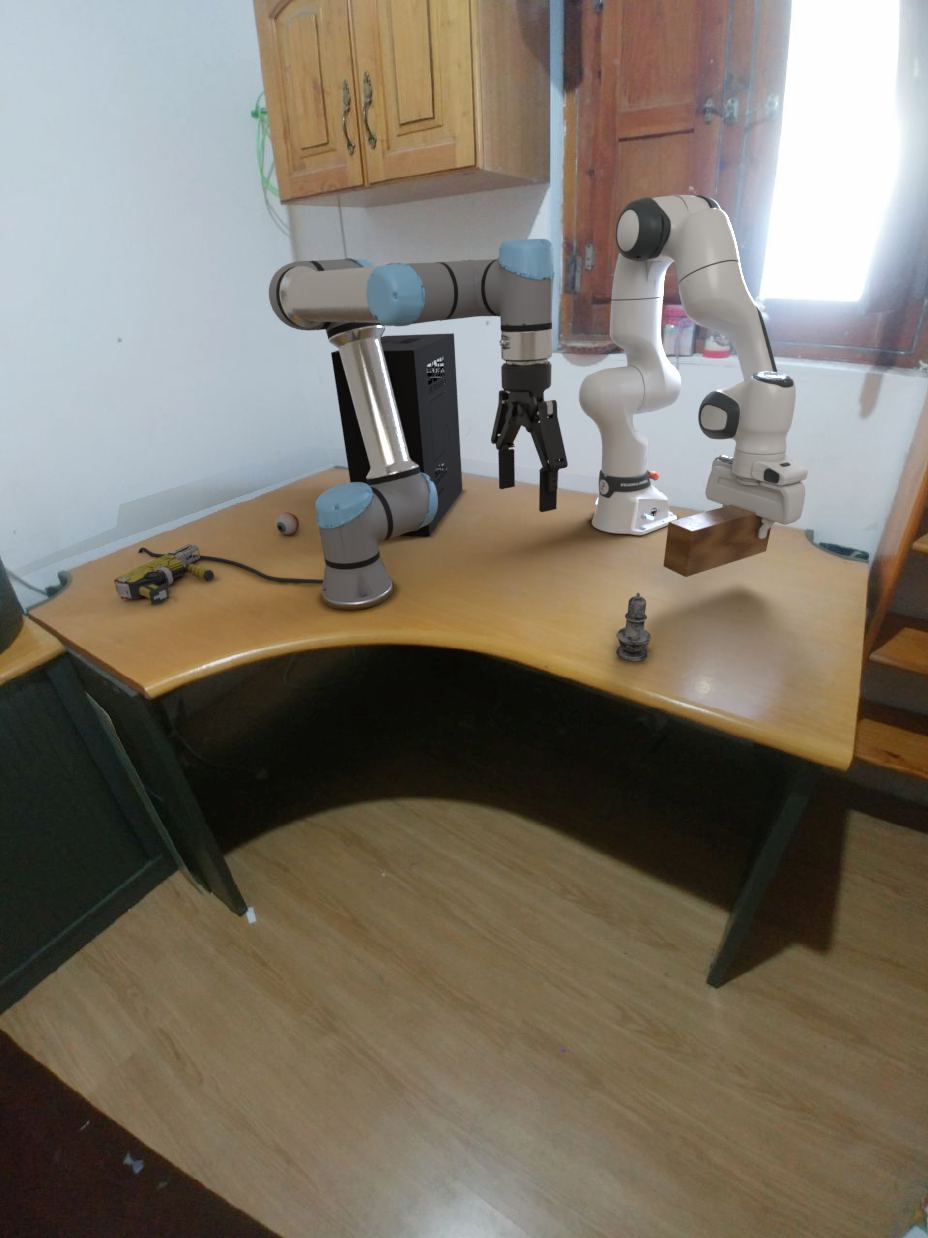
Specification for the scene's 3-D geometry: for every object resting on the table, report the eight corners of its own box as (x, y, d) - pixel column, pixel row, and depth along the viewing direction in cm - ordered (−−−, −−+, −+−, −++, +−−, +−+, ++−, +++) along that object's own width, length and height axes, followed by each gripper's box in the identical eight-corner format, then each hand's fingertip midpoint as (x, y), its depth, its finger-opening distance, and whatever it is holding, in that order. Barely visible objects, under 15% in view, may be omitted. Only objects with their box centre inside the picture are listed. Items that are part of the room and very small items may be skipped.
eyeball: (273, 537, 164) (268, 516, 161) (287, 528, 169) (282, 508, 166) (291, 539, 161) (286, 518, 158) (305, 530, 166) (301, 510, 163)
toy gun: (236, 552, 148) (186, 541, 152) (163, 592, 128) (107, 579, 132) (239, 569, 150) (189, 559, 154) (167, 611, 130) (112, 598, 134)
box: (742, 542, 128) (750, 499, 123) (766, 551, 123) (775, 507, 119) (663, 566, 120) (668, 521, 115) (685, 577, 115) (692, 531, 110)
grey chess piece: (650, 663, 103) (658, 601, 97) (615, 660, 105) (620, 600, 99) (648, 644, 108) (655, 585, 102) (614, 642, 110) (620, 583, 104)
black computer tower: (429, 535, 159) (413, 350, 136) (357, 532, 163) (331, 352, 141) (462, 490, 190) (453, 333, 168) (401, 488, 195) (385, 335, 172)
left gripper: (468, 356, 99) (473, 482, 109) (549, 373, 79) (546, 525, 89) (508, 351, 101) (510, 475, 112) (596, 366, 81) (588, 516, 92)
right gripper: (703, 455, 122) (694, 520, 129) (792, 479, 106) (777, 551, 113) (725, 450, 125) (715, 514, 132) (816, 472, 109) (799, 544, 116)
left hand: (526, 498), depth 101 cm, fingers open, 13 cm apart
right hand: (744, 531), depth 122 cm, fingers closed on box, 6 cm apart
